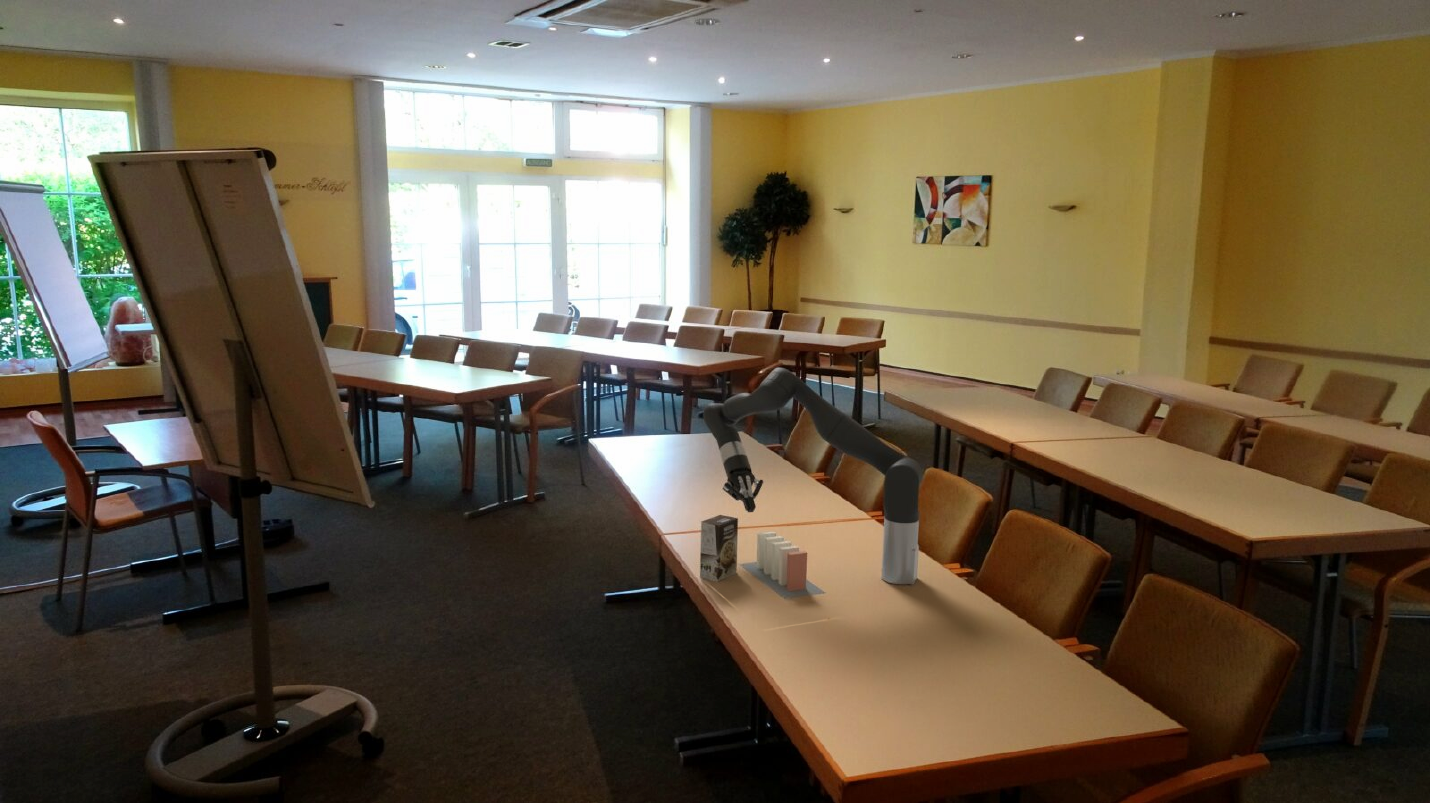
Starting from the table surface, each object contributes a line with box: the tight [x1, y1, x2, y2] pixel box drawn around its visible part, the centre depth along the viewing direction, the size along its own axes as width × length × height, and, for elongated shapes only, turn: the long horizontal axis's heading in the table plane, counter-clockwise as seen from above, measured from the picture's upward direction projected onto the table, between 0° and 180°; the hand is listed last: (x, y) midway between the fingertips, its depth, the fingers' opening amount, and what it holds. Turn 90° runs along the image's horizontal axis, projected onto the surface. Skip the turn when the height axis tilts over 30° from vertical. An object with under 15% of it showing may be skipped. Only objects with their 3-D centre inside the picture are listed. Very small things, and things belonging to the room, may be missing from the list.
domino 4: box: [779, 545, 800, 585], centre depth 257 cm, size 5×2×10 cm, turn 114°
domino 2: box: [764, 535, 785, 574], centre depth 265 cm, size 5×2×10 cm, turn 113°
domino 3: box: [771, 540, 792, 580], centre depth 261 cm, size 5×2×10 cm, turn 113°
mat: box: [739, 561, 826, 600], centre depth 261 cm, size 28×12×1 cm, turn 23°
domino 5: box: [786, 550, 808, 591], centre depth 253 cm, size 5×2×10 cm, turn 113°
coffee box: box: [699, 514, 739, 582], centre depth 262 cm, size 9×6×16 cm
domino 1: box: [756, 531, 777, 569], centre depth 269 cm, size 5×2×10 cm, turn 113°
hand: (751, 510), depth 276 cm, fingers closed
